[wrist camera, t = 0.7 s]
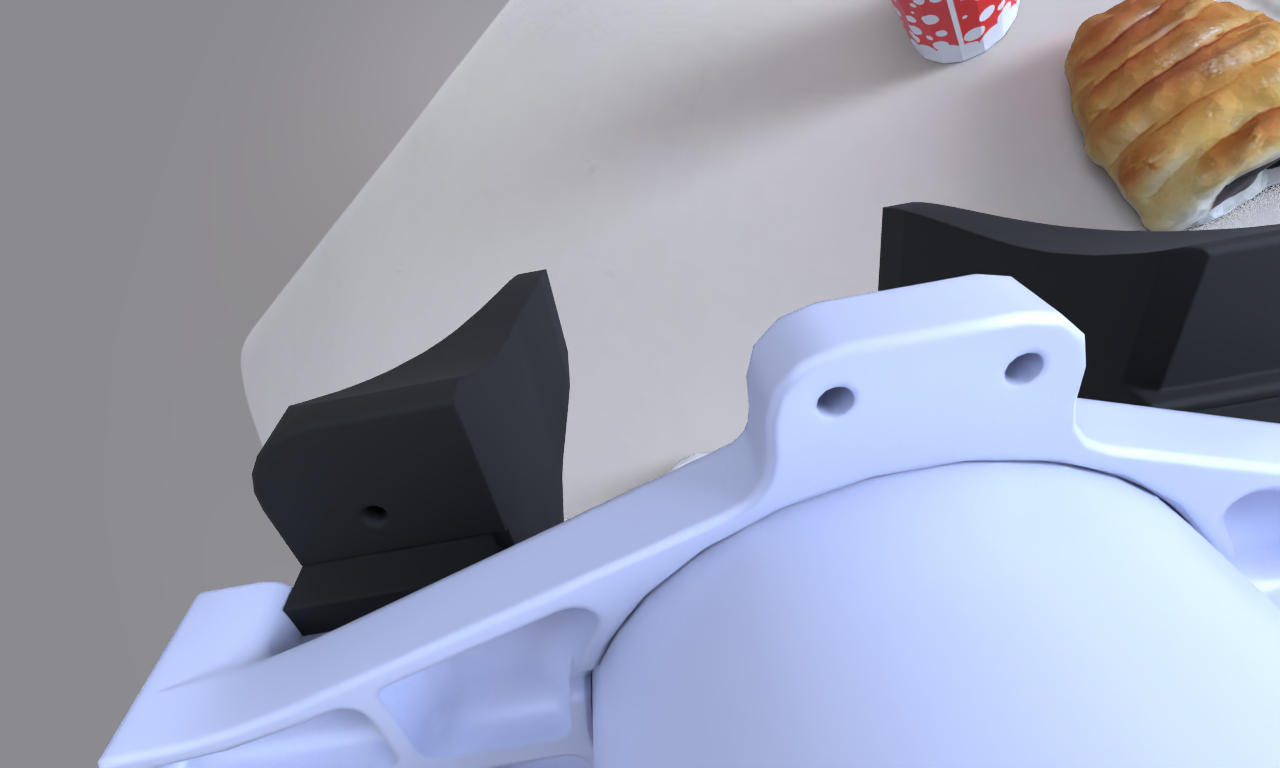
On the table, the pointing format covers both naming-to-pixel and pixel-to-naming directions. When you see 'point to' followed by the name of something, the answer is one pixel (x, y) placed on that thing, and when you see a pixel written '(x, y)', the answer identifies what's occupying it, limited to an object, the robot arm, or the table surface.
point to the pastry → (1179, 105)
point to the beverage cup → (955, 26)
